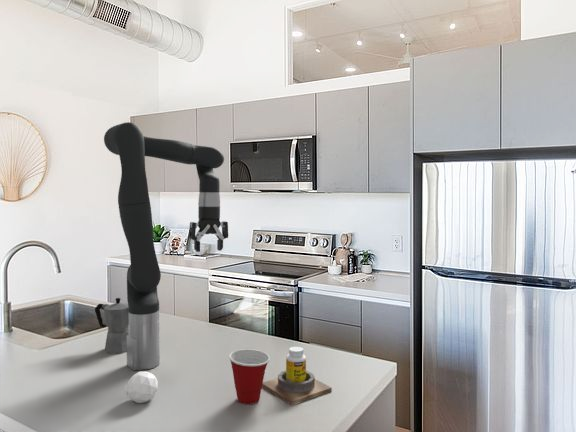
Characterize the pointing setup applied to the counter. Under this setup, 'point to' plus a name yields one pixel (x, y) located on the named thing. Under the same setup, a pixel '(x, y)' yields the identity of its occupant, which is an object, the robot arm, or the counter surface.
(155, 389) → the geometric ball
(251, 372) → the plastic cup
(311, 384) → the ring collar
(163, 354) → the counter surface
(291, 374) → the supplement bottle
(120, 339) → the coffeepot
